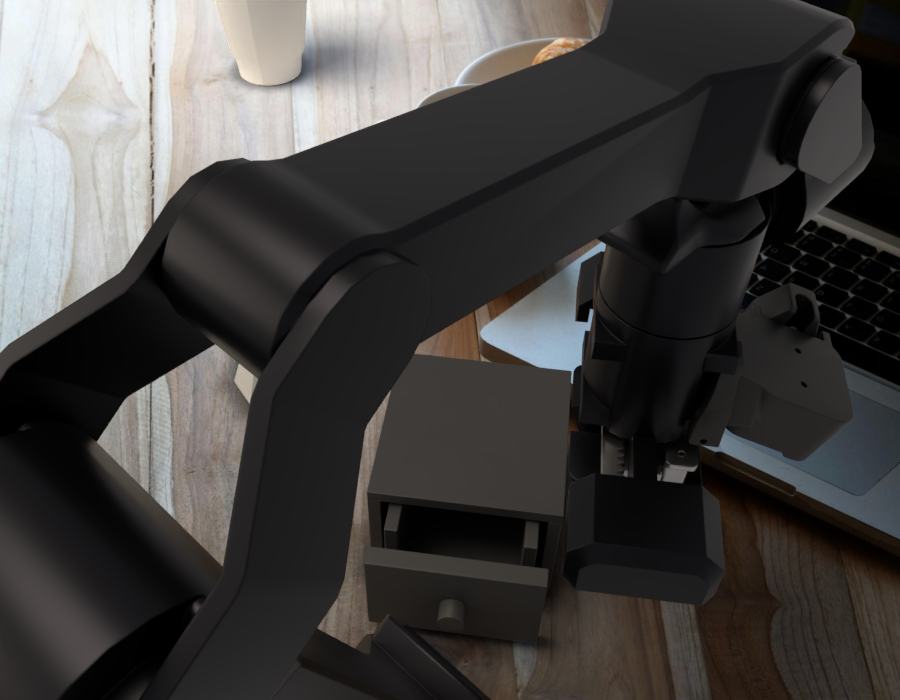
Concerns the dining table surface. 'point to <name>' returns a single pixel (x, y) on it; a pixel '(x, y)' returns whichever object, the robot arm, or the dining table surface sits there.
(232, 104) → the dining table surface
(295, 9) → the cup
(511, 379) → the box
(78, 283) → the dining table surface
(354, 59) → the dining table surface
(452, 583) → the drawer
